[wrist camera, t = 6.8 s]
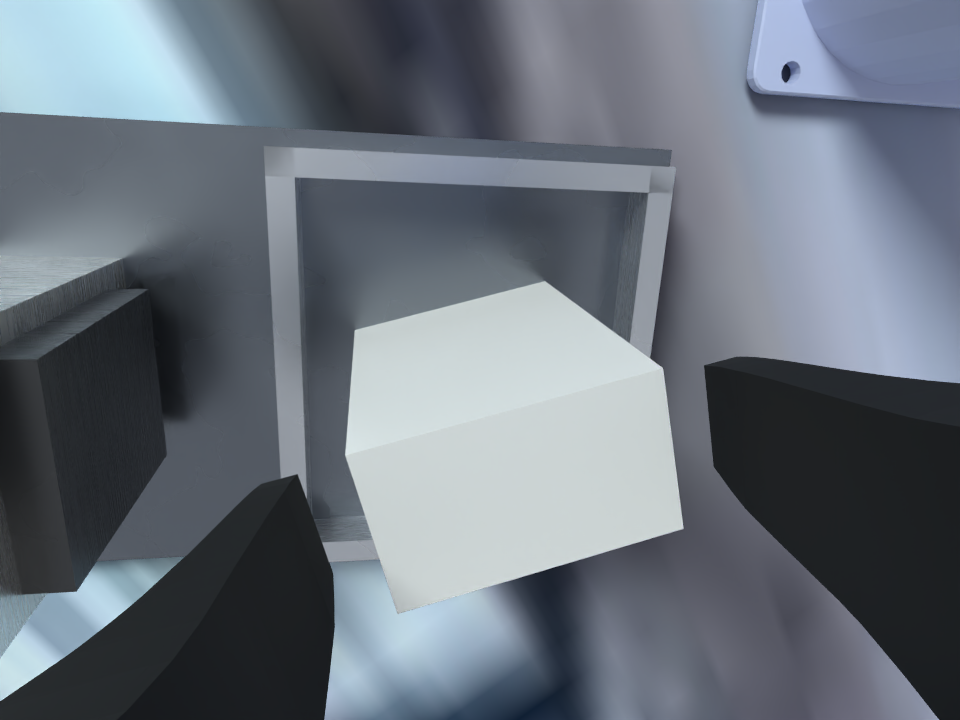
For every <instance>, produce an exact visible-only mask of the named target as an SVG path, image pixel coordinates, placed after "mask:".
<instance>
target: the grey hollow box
mask: <svg viewBox="0 0 960 720" xmlns="http://www.w3.org/2000/svg"><path fill="white" fill-rule="evenodd" d="M671 151H672V150H662V149H644V148H626V147H608V146H591V145H573V144H555V143H537V142H520V141H502V140H484V139H466V138H448V137H431V136H413V135H395V134H377V133H359V132H342V131H324V130H306V129H288V128H270V127H253V126H235V125H217V124H199V123H181V122H164V121H146V120H128V119H110V118H92V117H75V116H57V115H39V114H21V113H3V112H0V658H1V656H2V655H3V654H4V652H5V651H6V649H7V648H8V647H9V645H10V644H11V643H12V641H13V640H14V638H15V637H16V636H17V634H18V633H19V632H20V630H21V629H22V627H23V626H24V625H25V623H26V622H27V621H28V619H29V618H30V616H31V615H32V614H33V612H34V611H35V610H36V608H37V607H38V605H39V604H40V603H41V601H42V600H43V599H44V597H45V596H46V594H47V593H59V592H75V591H77V590H78V589H79V587H80V586H81V584H82V583H83V581H84V579H85V578H86V576H87V575H88V573H89V572H90V570H91V569H92V567H93V566H94V564H95V563H96V561H106V560H125V559H144V558H162V557H181V556H186V555H188V554H189V553H190V552H191V551H192V550H193V549H194V548H195V547H196V546H197V545H198V544H199V543H200V542H201V541H202V540H203V539H204V538H205V537H206V536H207V535H208V534H209V533H210V532H211V531H212V530H213V529H214V528H215V527H216V526H217V525H218V524H219V523H220V522H221V521H222V520H223V519H224V518H225V517H226V516H227V515H228V514H229V513H230V512H231V511H232V510H233V509H234V508H235V507H236V506H237V505H238V504H239V503H240V502H241V501H242V500H243V499H244V498H245V497H246V496H247V495H248V494H249V493H250V492H251V491H253V490H254V489H255V488H256V487H258V486H259V485H260V484H262V483H266V482H270V481H273V480H277V479H281V478H285V477H288V476H292V475H296V474H298V476H299V479H300V482H301V485H302V488H303V490H304V493H305V496H306V499H307V502H308V505H309V507H310V510H311V513H312V516H313V519H314V521H315V524H316V527H317V530H318V533H319V535H320V538H321V541H322V544H323V547H324V549H325V552H326V555H327V558H328V561H329V562H342V561H359V560H377V559H379V556H378V553H377V550H376V547H375V544H374V541H373V538H372V535H371V532H370V529H369V526H368V523H367V520H366V517H365V514H364V511H363V508H362V505H361V502H360V499H359V496H358V492H357V489H356V486H355V483H354V480H353V477H352V474H351V471H350V468H349V465H348V462H347V459H346V456H345V452H346V439H347V426H348V413H349V400H350V387H351V374H352V361H353V348H354V334H355V330H357V329H361V328H365V327H369V326H373V325H377V324H381V323H384V322H388V321H392V320H396V319H400V318H404V317H408V316H412V315H415V314H419V313H423V312H427V311H431V310H435V309H439V308H443V307H447V306H450V305H454V304H458V303H462V302H466V301H470V300H474V299H478V298H481V297H485V296H489V295H493V294H497V293H501V292H505V291H509V290H512V289H516V288H520V287H524V286H528V285H532V284H536V283H540V282H544V281H546V282H547V283H548V284H550V285H551V286H552V287H554V288H555V289H556V290H558V291H559V292H560V293H562V294H563V295H564V296H566V297H567V298H569V299H570V300H571V301H573V302H574V303H575V304H577V305H578V306H579V307H581V308H582V309H583V310H585V311H586V312H588V313H589V314H590V315H592V316H593V317H594V318H596V319H597V320H598V321H600V322H601V323H602V324H604V325H605V326H607V327H608V328H609V329H611V330H612V331H613V332H615V333H616V334H617V335H619V336H620V337H621V338H623V339H624V340H625V341H627V342H628V343H630V344H631V345H632V346H634V347H635V348H636V349H638V350H639V351H640V352H642V353H643V354H644V355H646V356H647V357H649V358H650V355H651V348H652V341H653V333H654V326H655V319H656V311H657V304H658V297H659V290H660V282H661V275H662V268H663V260H664V253H665V246H666V238H667V231H668V224H669V217H670V209H671V202H672V195H673V187H674V180H675V173H676V167H669V166H670V159H671Z"/></svg>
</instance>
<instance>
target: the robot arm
mask: <svg viewBox="0 0 960 720" xmlns="http://www.w3.org/2000/svg"><path fill="white" fill-rule="evenodd" d="M785 64H787V65H788V66H789V68H790V70H791V76H790V78H789V80H788V81H787V82H786V83H785V82H784V81H783V79H782V78H781V71H782V69H783V66H784V65H785ZM747 81H748V84H749V87H750V88H751V89H752V90H753V91H754V92H757V93H760V94H770V95H784V96H797V97H811V98H824V99H837V100H851V101H864V102H878V103H891V104H905V105H918V106H932V107H945V108H958V109H960V0H758V5H757V11H756V17H755V23H754V30H753V36H752V42H751V48H750V54H749V60H748V67H747ZM704 369H705V380H706V390H707V401H708V411H709V422H710V432H711V442H712V453H713V463H714V468H715V469H716V470H717V472H718V473H719V474H720V476H721V477H722V479H723V480H724V481H725V483H726V484H727V485H728V487H729V488H730V490H731V491H732V492H733V493H734V495H735V496H736V497H737V498H738V500H739V501H740V502H741V504H742V505H743V506H744V507H745V509H746V510H747V511H748V512H749V513H750V514H751V515H752V516H753V517H754V518H755V519H756V520H757V521H758V522H759V523H760V524H761V525H762V526H763V527H764V528H765V529H766V530H767V531H768V532H769V533H770V534H771V535H772V536H773V537H774V538H775V539H776V540H777V541H778V542H779V543H780V544H781V545H782V546H783V547H784V548H785V549H787V550H788V551H789V552H790V553H791V554H792V555H793V556H794V557H795V558H796V559H797V560H798V561H799V562H800V563H801V564H802V565H803V566H804V567H805V568H806V569H807V570H808V571H809V572H810V573H811V574H812V575H813V576H814V577H815V578H816V579H817V580H818V581H819V582H820V583H821V584H822V585H824V586H825V587H826V588H827V589H828V590H829V591H830V592H831V593H832V594H833V595H834V596H835V597H836V598H837V599H838V600H839V601H840V602H841V603H842V604H843V605H844V606H845V607H846V608H847V610H848V611H849V612H850V613H851V614H852V615H853V616H854V617H855V618H856V619H857V620H858V621H859V622H860V623H861V624H862V626H863V627H864V628H865V629H866V630H867V632H868V633H869V634H870V635H871V636H872V638H873V639H874V640H875V641H876V642H877V644H878V645H879V646H880V647H881V648H882V649H883V651H884V652H885V653H886V654H887V655H888V657H889V658H890V659H891V660H892V661H893V663H894V664H895V665H896V666H897V667H898V669H899V670H900V671H901V672H902V673H903V675H904V676H905V677H906V678H907V679H908V681H909V682H910V683H911V685H912V686H913V687H914V688H915V690H916V691H917V692H918V693H919V695H920V696H921V697H922V698H923V700H924V701H925V702H926V704H927V705H928V706H929V707H930V709H931V710H932V711H933V712H934V714H935V715H936V716H937V717H938V719H939V720H960V383H949V382H937V381H927V380H919V379H910V378H901V377H892V376H884V375H877V374H870V373H862V372H856V371H849V370H842V369H836V368H829V367H823V366H816V365H810V364H803V363H797V362H790V361H783V360H776V359H768V358H758V357H734V358H730V359H727V360H723V361H719V362H715V363H712V364H708V365H704ZM334 628H335V623H334V583H333V572H332V569H331V566H330V563H329V561H328V558H327V555H326V552H325V549H324V547H323V544H322V541H321V538H320V535H319V533H318V530H317V527H316V524H315V521H314V519H313V516H312V513H311V510H310V507H309V505H308V502H307V499H306V496H305V493H304V490H303V488H302V485H301V482H300V479H299V476H298V474H296V475H292V476H288V477H285V478H281V479H277V480H273V481H270V482H266V483H262V484H260V485H259V486H258V487H256V488H255V489H254V490H253V491H251V492H250V493H249V494H248V495H247V496H246V497H245V498H244V499H243V500H242V501H241V502H240V503H239V504H238V505H237V506H236V507H235V508H234V509H233V510H232V511H231V512H230V513H229V514H228V515H227V516H226V517H225V518H224V519H223V520H222V521H221V522H220V523H219V524H218V525H217V526H216V527H215V528H214V529H213V530H212V531H211V532H210V533H209V534H208V535H207V536H206V537H205V538H204V539H203V540H202V541H201V542H200V543H199V544H198V545H197V546H196V547H195V548H194V549H193V550H192V551H191V552H190V553H189V554H188V555H186V556H185V557H184V558H183V559H182V560H181V561H180V562H179V563H178V564H177V565H176V566H174V567H173V568H172V569H171V570H170V571H169V572H168V573H167V574H166V575H165V576H164V577H163V578H161V579H160V580H159V581H158V582H157V583H156V584H155V585H154V586H153V587H152V588H151V589H150V590H148V591H147V592H146V593H145V594H144V595H143V596H142V597H141V598H139V599H138V600H137V601H136V602H135V603H134V604H132V605H131V606H130V607H129V608H128V609H126V610H125V611H124V612H123V613H122V614H120V615H119V616H118V617H117V618H116V619H114V620H113V621H112V622H111V623H109V624H108V625H107V626H105V627H104V628H103V629H102V630H100V631H99V632H98V633H96V634H95V635H94V636H93V637H91V638H90V639H89V640H87V641H86V642H85V643H83V644H82V645H81V646H80V647H78V648H77V649H75V650H74V651H73V652H71V653H70V654H69V655H67V656H66V657H65V658H63V659H62V660H60V661H59V662H57V663H56V664H54V665H53V666H51V667H50V668H48V669H47V670H46V671H44V672H43V673H41V674H40V675H38V676H37V677H35V678H34V679H32V680H31V681H29V682H28V683H27V684H25V685H24V686H22V687H21V688H19V689H18V690H16V691H15V692H13V693H12V694H10V695H9V696H8V697H6V698H5V699H3V700H2V701H0V720H324V716H325V708H326V699H327V691H328V683H329V674H330V665H331V656H332V647H333V638H334Z"/></svg>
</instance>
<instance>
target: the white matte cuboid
mask: <svg viewBox="0 0 960 720" xmlns="http://www.w3.org/2000/svg"><path fill="white" fill-rule="evenodd" d="M345 456H346V459H347V462H348V465H349V468H350V471H351V474H352V477H353V480H354V483H355V486H356V489H357V492H358V496H359V499H360V502H361V505H362V508H363V511H364V514H365V517H366V520H367V523H368V526H369V529H370V532H371V535H372V538H373V541H374V544H375V547H376V550H377V553H378V556H379V559H380V562H381V565H382V568H383V571H384V574H385V577H386V580H387V583H388V586H389V589H390V592H391V595H392V598H393V601H394V604H395V607H396V610H397V613H398V614H399V613H403V612H406V611H409V610H413V609H416V608H419V607H423V606H426V605H429V604H433V603H436V602H439V601H443V600H446V599H450V598H453V597H456V596H460V595H463V594H466V593H470V592H473V591H476V590H480V589H483V588H486V587H490V586H493V585H497V584H500V583H503V582H507V581H510V580H513V579H517V578H520V577H523V576H527V575H530V574H533V573H537V572H540V571H544V570H547V569H550V568H554V567H557V566H560V565H564V564H567V563H570V562H574V561H577V560H580V559H584V558H587V557H591V556H594V555H597V554H601V553H604V552H607V551H611V550H614V549H617V548H621V547H624V546H627V545H631V544H634V543H638V542H641V541H644V540H648V539H651V538H654V537H658V536H661V535H664V534H668V533H671V532H674V531H678V530H681V529H684V528H683V521H682V513H681V505H680V497H679V489H678V482H677V474H676V466H675V458H674V450H673V442H672V435H671V427H670V419H669V411H668V403H667V395H666V388H665V380H664V372H663V368H662V367H661V366H659V365H658V364H657V363H655V362H654V361H653V360H651V359H650V358H649V357H647V356H646V355H644V354H643V353H642V352H640V351H639V350H638V349H636V348H635V347H634V346H632V345H631V344H630V343H628V342H627V341H625V340H624V339H623V338H621V337H620V336H619V335H617V334H616V333H615V332H613V331H612V330H611V329H609V328H608V327H607V326H605V325H604V324H602V323H601V322H600V321H598V320H597V319H596V318H594V317H593V316H592V315H590V314H589V313H588V312H586V311H585V310H583V309H582V308H581V307H579V306H578V305H577V304H575V303H574V302H573V301H571V300H570V299H569V298H567V297H566V296H564V295H563V294H562V293H560V292H559V291H558V290H556V289H555V288H554V287H552V286H551V285H550V284H548V283H547V282H546V281H544V282H540V283H536V284H532V285H528V286H524V287H520V288H516V289H512V290H509V291H505V292H501V293H497V294H493V295H489V296H485V297H481V298H478V299H474V300H470V301H466V302H462V303H458V304H454V305H450V306H447V307H443V308H439V309H435V310H431V311H427V312H423V313H419V314H415V315H412V316H408V317H404V318H400V319H396V320H392V321H388V322H384V323H381V324H377V325H373V326H369V327H365V328H361V329H357V330H355V334H354V348H353V361H352V374H351V387H350V400H349V413H348V426H347V439H346V452H345Z"/></svg>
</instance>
